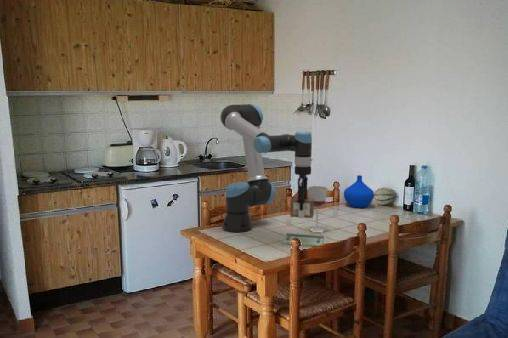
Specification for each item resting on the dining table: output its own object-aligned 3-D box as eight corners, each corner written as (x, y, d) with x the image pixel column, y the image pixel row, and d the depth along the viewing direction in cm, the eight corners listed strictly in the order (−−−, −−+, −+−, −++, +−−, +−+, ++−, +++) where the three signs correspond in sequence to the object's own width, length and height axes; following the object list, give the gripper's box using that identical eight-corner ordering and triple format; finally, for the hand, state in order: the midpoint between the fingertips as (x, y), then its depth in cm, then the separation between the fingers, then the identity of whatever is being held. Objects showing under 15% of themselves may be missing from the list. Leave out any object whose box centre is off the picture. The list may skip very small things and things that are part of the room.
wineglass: (321, 234, 228) (323, 190, 224) (304, 230, 233) (305, 188, 229) (328, 229, 235) (330, 187, 231) (311, 226, 240) (312, 185, 236)
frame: (290, 216, 212) (290, 199, 211) (292, 214, 216) (292, 197, 215) (312, 218, 209) (312, 201, 208) (313, 215, 213) (313, 199, 212)
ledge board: (281, 244, 212) (282, 240, 212) (286, 236, 223) (286, 233, 223) (321, 247, 208) (321, 243, 207) (323, 239, 219) (323, 236, 218)
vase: (367, 211, 272) (369, 179, 269) (338, 207, 282) (339, 176, 279) (377, 205, 287) (379, 174, 284) (349, 201, 297) (350, 172, 294)
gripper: (308, 168, 200) (307, 220, 203) (313, 163, 216) (313, 211, 220) (291, 168, 202) (290, 219, 205) (298, 162, 218) (297, 210, 222)
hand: (302, 215), depth 213 cm, fingers closed on frame, 4 cm apart
